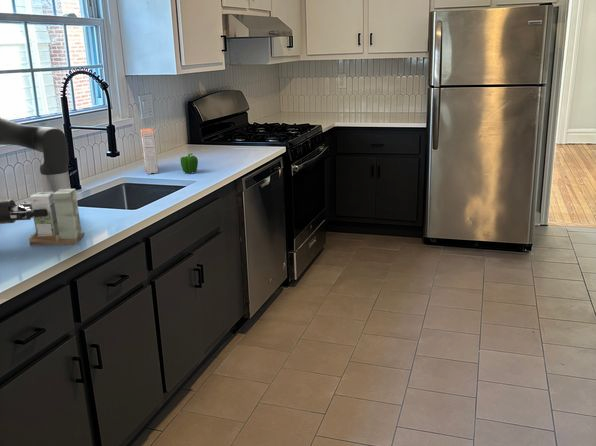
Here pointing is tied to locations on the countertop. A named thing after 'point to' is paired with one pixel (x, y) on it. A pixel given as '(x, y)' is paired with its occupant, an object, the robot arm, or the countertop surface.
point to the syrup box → (45, 223)
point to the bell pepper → (189, 163)
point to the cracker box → (149, 150)
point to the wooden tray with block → (63, 220)
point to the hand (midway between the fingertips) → (51, 208)
